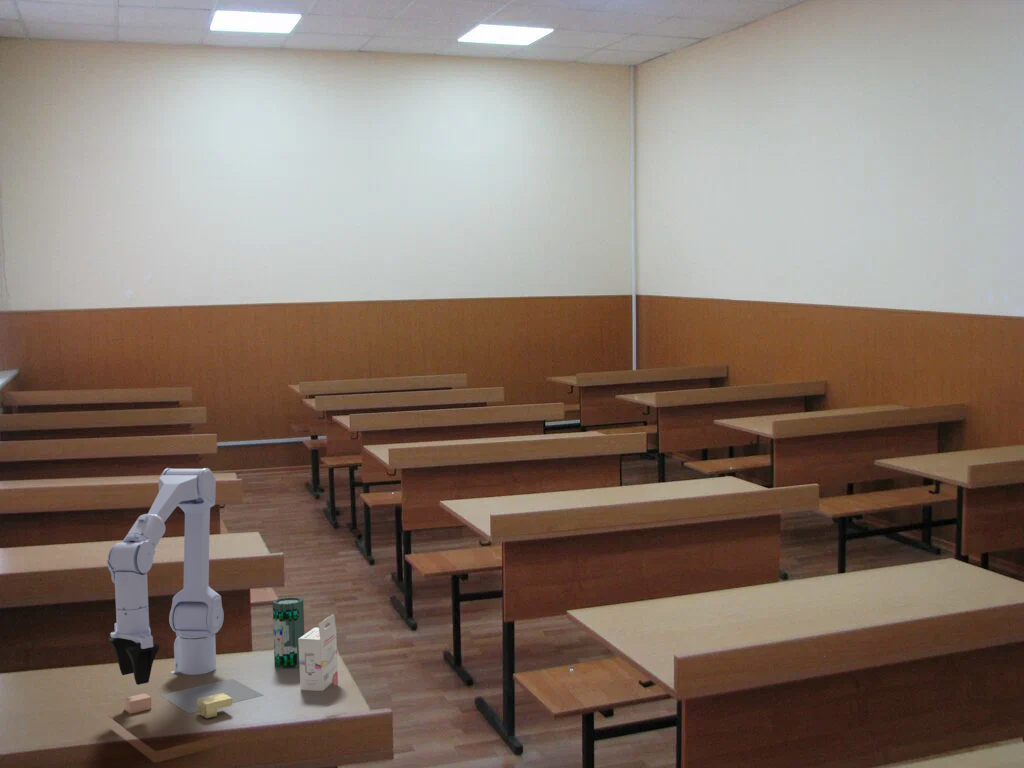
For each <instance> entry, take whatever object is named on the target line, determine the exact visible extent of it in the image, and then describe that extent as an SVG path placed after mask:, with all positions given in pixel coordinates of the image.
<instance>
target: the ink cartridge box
mask: <svg viewBox="0 0 1024 768" xmlns="http://www.w3.org/2000/svg"><path fill="white" fill-rule="evenodd" d="M328 624H329V625H328ZM326 625H328V626H327V627H326ZM337 643H338V640H337V627H336V618H335V614H334V613H332V614H331V615H329V616H328V617H326V618H325V619H324V620H322V621H320V622H319V623H318V627H313V628H312V629H310V630H309V631H308V632H306V633H304V635H303V636H302V637H300V638H299V639H298V644H299V665H300V668H299V681H300V682H299V685H300V686H299V689H300V690H301V691H317V692H318V691H319V692H320V691H321V692H322V691H324V690H326V689H327V688H328V687H330V685H331V684H333V685H335V686H338V685H339V679H338V677H339V673H338V644H337Z"/></svg>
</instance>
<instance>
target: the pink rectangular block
mask: <svg viewBox="0 0 1024 768" xmlns="http://www.w3.org/2000/svg"><path fill="white" fill-rule="evenodd" d="M123 706H124V707H123V708H124V709H123V710H124V711H125V712H127V713H128V714H134V713H138V712H139V713H140V712H143V711H146V710H151V709H152V696H150V695H148V694H147V693H141V694H136V695H131V696H127V697H124V698H123ZM108 717H109V718H110V719H112V720H113V721H114V722H116V723H117V724H119V725H120V726H121V727H123V728H124V729H126V727H124V726H123V725H121V724H120V723H118V722H117V721H116V720H115V719H113V718H112V717H111V716H109V715H108Z"/></svg>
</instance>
